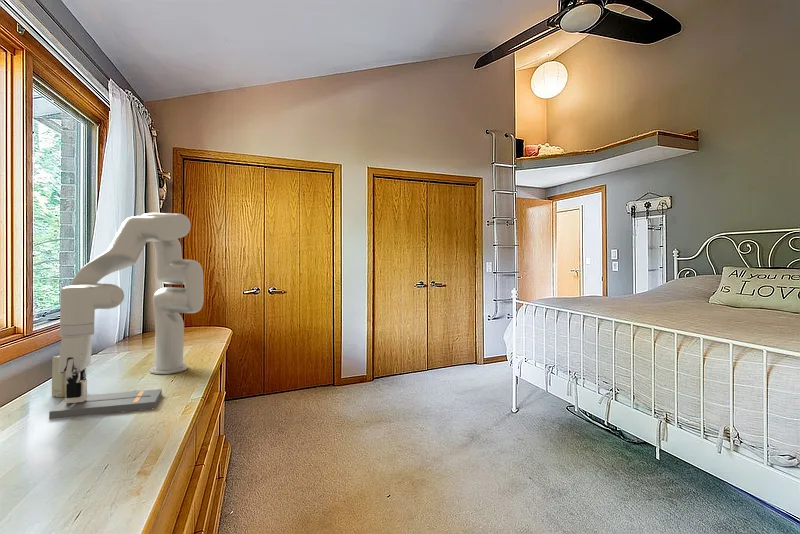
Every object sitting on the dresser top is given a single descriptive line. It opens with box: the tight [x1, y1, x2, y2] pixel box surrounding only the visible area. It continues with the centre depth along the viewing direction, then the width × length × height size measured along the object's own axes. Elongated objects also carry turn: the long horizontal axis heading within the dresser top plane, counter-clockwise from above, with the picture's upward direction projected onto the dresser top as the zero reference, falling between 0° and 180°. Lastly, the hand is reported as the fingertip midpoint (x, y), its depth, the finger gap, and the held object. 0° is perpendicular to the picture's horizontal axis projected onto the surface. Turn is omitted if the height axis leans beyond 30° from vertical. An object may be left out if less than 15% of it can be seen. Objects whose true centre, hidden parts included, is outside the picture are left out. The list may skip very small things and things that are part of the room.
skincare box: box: [51, 355, 66, 398], centre depth 125 cm, size 6×4×12 cm
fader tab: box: [64, 379, 88, 403], centre depth 113 cm, size 3×4×5 cm
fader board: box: [48, 388, 163, 420], centre depth 116 cm, size 12×24×2 cm, turn 112°
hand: (76, 394), depth 113 cm, fingers closed on fader tab, 3 cm apart
